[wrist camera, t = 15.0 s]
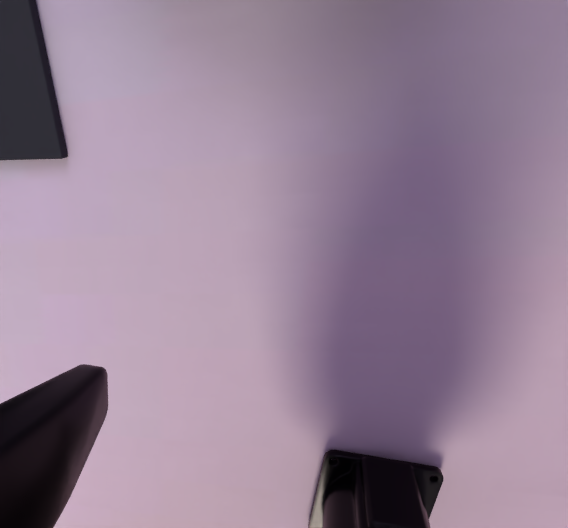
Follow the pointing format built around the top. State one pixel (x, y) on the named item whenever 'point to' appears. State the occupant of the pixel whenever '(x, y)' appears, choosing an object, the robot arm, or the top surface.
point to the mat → (26, 88)
